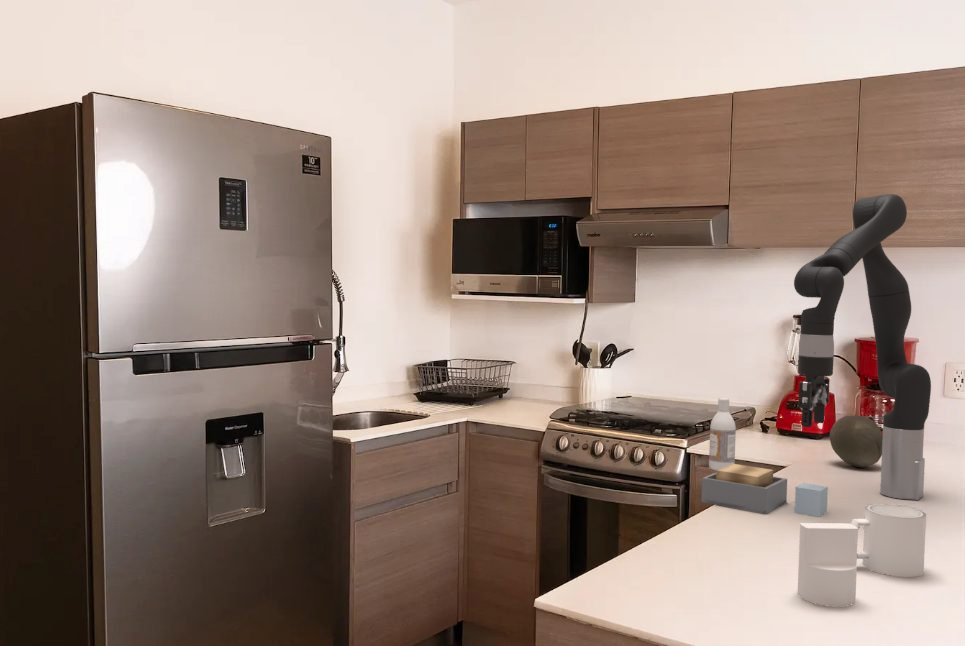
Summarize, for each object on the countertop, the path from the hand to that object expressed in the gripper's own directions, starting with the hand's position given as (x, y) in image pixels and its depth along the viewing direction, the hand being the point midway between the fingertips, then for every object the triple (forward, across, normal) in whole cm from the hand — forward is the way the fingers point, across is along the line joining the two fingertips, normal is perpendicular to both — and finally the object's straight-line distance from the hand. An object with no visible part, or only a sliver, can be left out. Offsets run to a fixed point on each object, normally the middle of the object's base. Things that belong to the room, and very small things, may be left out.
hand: (813, 424), depth 194 cm
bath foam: (+20, +30, +34) cm, 49 cm away
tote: (+20, -2, +15) cm, 25 cm away
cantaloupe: (+20, +60, +6) cm, 64 cm away
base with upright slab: (+21, -53, -20) cm, 60 cm away
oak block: (+19, -2, +15) cm, 24 cm away
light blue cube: (+20, 0, 0) cm, 20 cm away
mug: (+20, -30, -24) cm, 43 cm away
